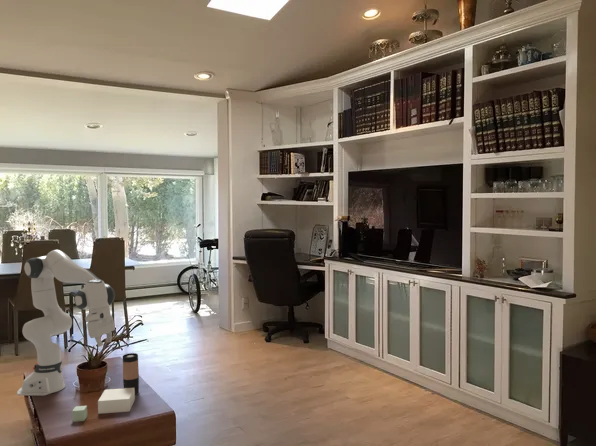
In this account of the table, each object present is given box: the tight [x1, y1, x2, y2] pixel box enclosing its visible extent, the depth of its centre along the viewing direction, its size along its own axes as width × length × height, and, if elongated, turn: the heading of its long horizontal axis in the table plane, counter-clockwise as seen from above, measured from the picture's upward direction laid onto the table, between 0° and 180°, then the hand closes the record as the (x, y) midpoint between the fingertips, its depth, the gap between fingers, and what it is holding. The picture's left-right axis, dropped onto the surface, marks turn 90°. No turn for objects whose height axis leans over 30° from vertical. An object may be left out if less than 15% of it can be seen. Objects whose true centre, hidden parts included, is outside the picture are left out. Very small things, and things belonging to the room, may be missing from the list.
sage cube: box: [71, 405, 88, 423], centre depth 223 cm, size 5×5×5 cm
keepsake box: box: [97, 387, 136, 415], centre depth 236 cm, size 14×14×6 cm
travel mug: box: [122, 352, 140, 396], centre depth 251 cm, size 8×8×20 cm
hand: (104, 344), depth 225 cm, fingers open, 8 cm apart
